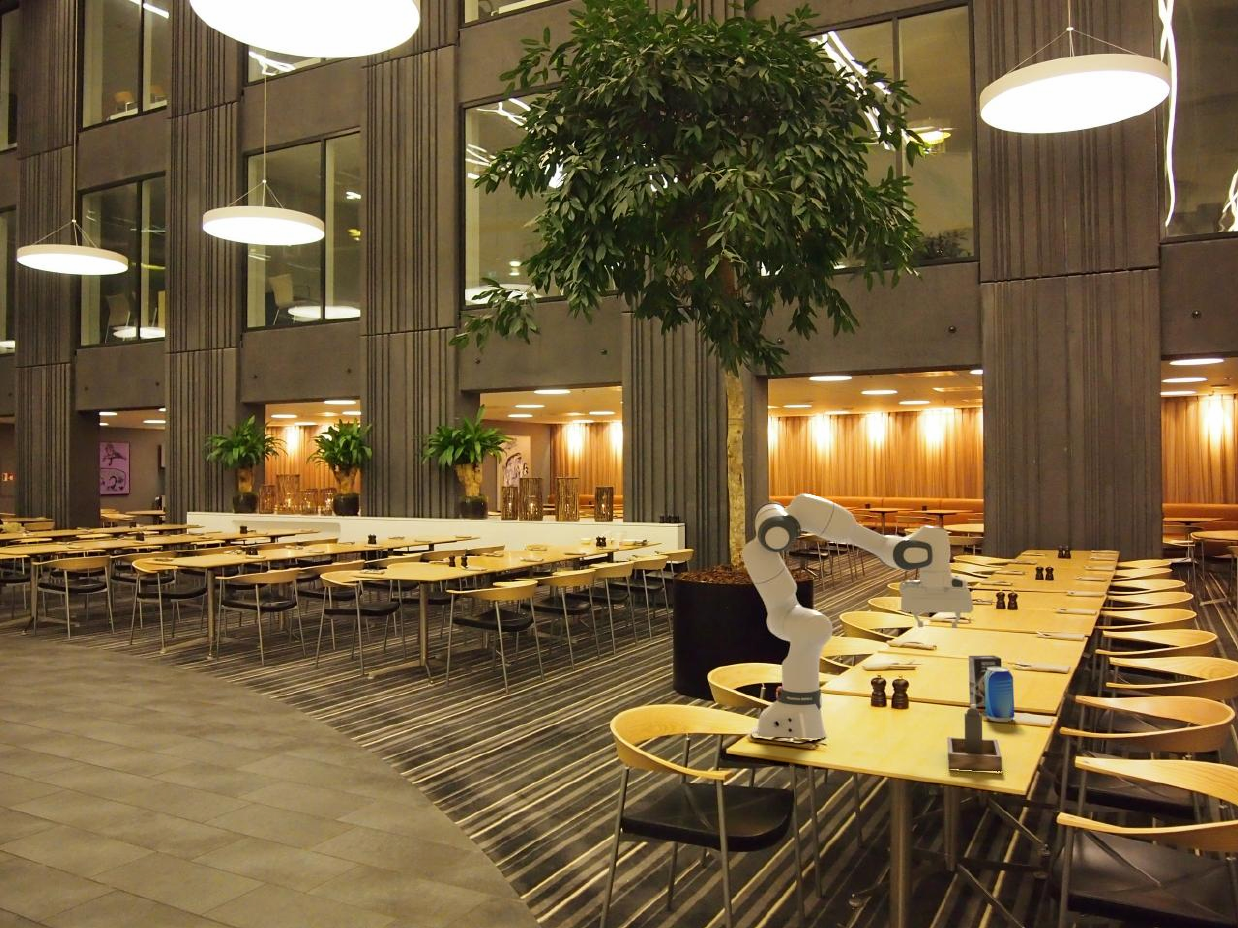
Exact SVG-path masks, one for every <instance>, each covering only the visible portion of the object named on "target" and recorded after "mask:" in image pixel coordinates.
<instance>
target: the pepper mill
mask: <svg viewBox="0 0 1238 928" xmlns="http://www.w3.org/2000/svg"><path fill="white" fill-rule="evenodd" d="M969 705H970V706H969V707H970V708H968V709H967V711H966V712H965V713H964V738H965V753H967V754H983V752H982V739H983V715H982V714H981V713H980V710H979V709H978V708H977V707H976V705H975V704H971V703H970V704H969Z"/></svg>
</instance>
